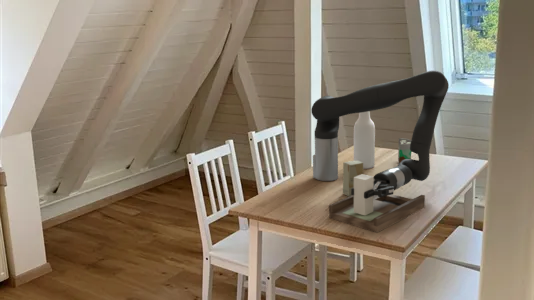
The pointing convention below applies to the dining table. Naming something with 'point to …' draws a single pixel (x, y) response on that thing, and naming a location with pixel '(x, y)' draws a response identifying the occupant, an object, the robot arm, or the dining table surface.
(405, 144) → the food container
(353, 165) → the skincare box
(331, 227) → the dining table surface
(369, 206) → the block
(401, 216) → the channel
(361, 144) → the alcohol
